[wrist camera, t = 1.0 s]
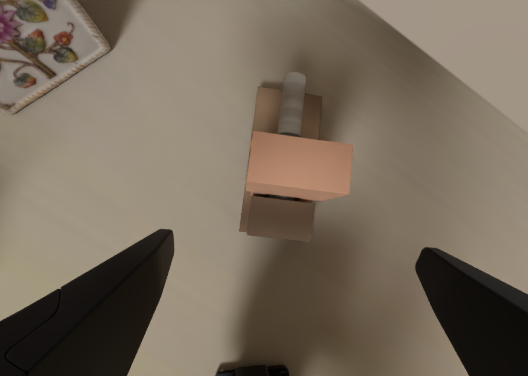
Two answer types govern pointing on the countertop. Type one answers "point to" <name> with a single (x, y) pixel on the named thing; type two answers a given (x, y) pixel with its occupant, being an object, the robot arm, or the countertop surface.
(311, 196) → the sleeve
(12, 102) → the decorative jar
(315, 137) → the pipe stand
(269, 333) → the countertop surface
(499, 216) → the countertop surface
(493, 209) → the countertop surface
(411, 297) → the countertop surface
